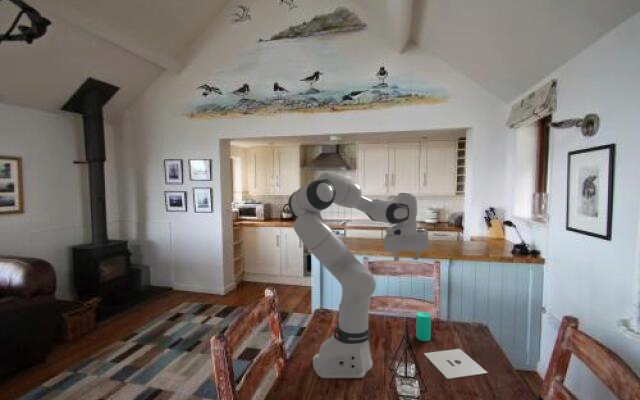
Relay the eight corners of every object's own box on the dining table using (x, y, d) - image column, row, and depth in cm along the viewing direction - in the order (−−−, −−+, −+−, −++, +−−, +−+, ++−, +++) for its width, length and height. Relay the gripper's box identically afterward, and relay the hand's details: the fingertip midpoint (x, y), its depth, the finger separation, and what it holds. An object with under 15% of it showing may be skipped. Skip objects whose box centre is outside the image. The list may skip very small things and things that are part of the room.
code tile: (447, 379, 109) (447, 378, 109) (423, 354, 125) (423, 353, 125) (487, 373, 113) (487, 372, 112) (459, 349, 128) (459, 348, 128)
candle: (431, 341, 134) (432, 314, 134) (417, 340, 135) (417, 313, 135) (429, 334, 140) (429, 308, 139) (415, 333, 141) (415, 307, 141)
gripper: (424, 227, 145) (423, 257, 146) (382, 229, 141) (382, 259, 142) (431, 229, 138) (431, 260, 139) (388, 231, 134) (387, 263, 135)
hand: (406, 260), depth 141 cm, fingers open, 8 cm apart
